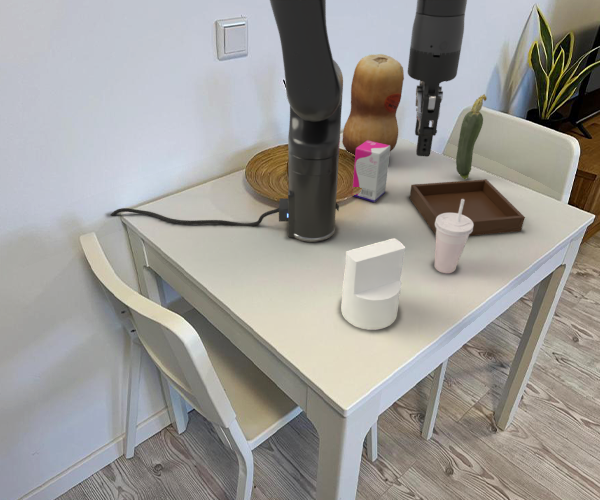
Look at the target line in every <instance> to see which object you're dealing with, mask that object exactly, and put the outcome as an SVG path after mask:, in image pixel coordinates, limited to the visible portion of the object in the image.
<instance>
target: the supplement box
mask: <svg viewBox="0 0 600 500" xmlns="http://www.w3.org/2000/svg"><path fill="white" fill-rule="evenodd" d="M390 153H391V151H390V145H386V144H381V143H377V142H373V141H368V140H367V141H366V142H364V143H363V144H361V145H360V146H358V147H357V148H356V151H355V158H354V167H353V178H352V179H353V180H352V188H353V187H360V188H362V190H361V192H360V193H358V194H356V195H354V196H353V197H354V198H358V199H361V200H364V201H367V202H371V203H376V202H377V201H378V200H379V199H380V198H382V196H383V195H384V194H386V189H387V180H388V172H389V162H390Z"/></svg>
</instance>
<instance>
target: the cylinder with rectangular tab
mask: <svg viewBox="0 0 600 500" xmlns="http://www.w3.org/2000/svg"><path fill="white" fill-rule="evenodd" d="M405 252H406V246H405V245H404V244H403V243H402V242H401V241H400V240H398V239H397V238H395V237H393V238H389V239H385V240H382V241H379V242H375V243H371V244H368V245H363V246H361V247H356V248H353V249H349V250H346V251H345V262H344V275H343V278H342V288H341V289H342V290H341V302H340V303H341V305H340V311H341V315H342V316H343V318H344V320H345V321H346V322H348V323H349V324H351V325H352V326H354V327H356V328H358V329H362V330H368V331H377V330H378V331H379V330H382V329H385V328H387V327H389V326H391V325H392V324H393V323H394V322H395V321H396V319H397V316H398V310H399V303H400V296H401V291H402V272H403V265H404V258H405Z"/></svg>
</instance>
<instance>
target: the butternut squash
mask: <svg viewBox="0 0 600 500" xmlns="http://www.w3.org/2000/svg"><path fill="white" fill-rule="evenodd" d="M404 80H405V75H404V67H403V65H402V64H401V63H400V61H398V60H397V59H395V57H392V56H390V55H387V54H383V53H376V54H368V55H365V56H364V57H362V58H361V59H360V60H359V61H358V63H357V64H356V66H355V67H354V72H353V76H352V81H351V87H350V112H349V115H348V117H347V119H346V122H345V124H344V126H343V131H342V141H341V142H342V145H343V147H344V149H345V151H346V152H347V151H348V152H350V153H352V154H354V155H355V151H356V148H357V147H358V146H360V145H361V144H363V143H364V142H366V141H367V140H368V141H373V142H377V143H381V144H386V145H390V152H392V151H393V150H394V149H395V147H396V145H397V143H398V139H399V125H398V120H397V111H398V108H399V105H400V103H401V99H402V93H403V86H404Z"/></svg>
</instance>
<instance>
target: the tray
mask: <svg viewBox="0 0 600 500" xmlns="http://www.w3.org/2000/svg"><path fill="white" fill-rule="evenodd" d="M409 199H410V201H411V202H412V204H413V205H414V207H415V208H416V210H417V211H418V212H419V214H420V215H421V216H422V218H423V220H424V221H425V222H426V224H427V225H428V227H429V228H430V230H431V231H432V232H433V234H434V235H435V236H436V227H435V221H436V218H437V216H438V215H440V214H443V213H458V212H459V207H460V203H461V199H464V200H465V201H464V205H463V210H462V215H464V216H466V217H468V218H470V219H471V220H472V222H473V224H474V226H473V231H472V232H471V234H469V236H468V237H472V236H483V235H484V236H485V235H494V234H506V233H516V232H522V229H523V226H524V222H525V220H526V219H525V218H526V217H525V216H524V214H522V212H520V211H519V209H517V208H516V207H515V206H514V205H513V203H512V202H510V201H509V200H508V198H506V197H505V196H504V195H503V194H502V193H501V192H500V191H499V190H498V189H497V188H496V187H495V186H494V185H493V184H492V183H491V182H490V181H489V180H488V179H486V178H484V179H470V180H469V179H468V180H458V181H443V182H429V183H419V184H418V183H417V184H411V185H410V191H409Z"/></svg>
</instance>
